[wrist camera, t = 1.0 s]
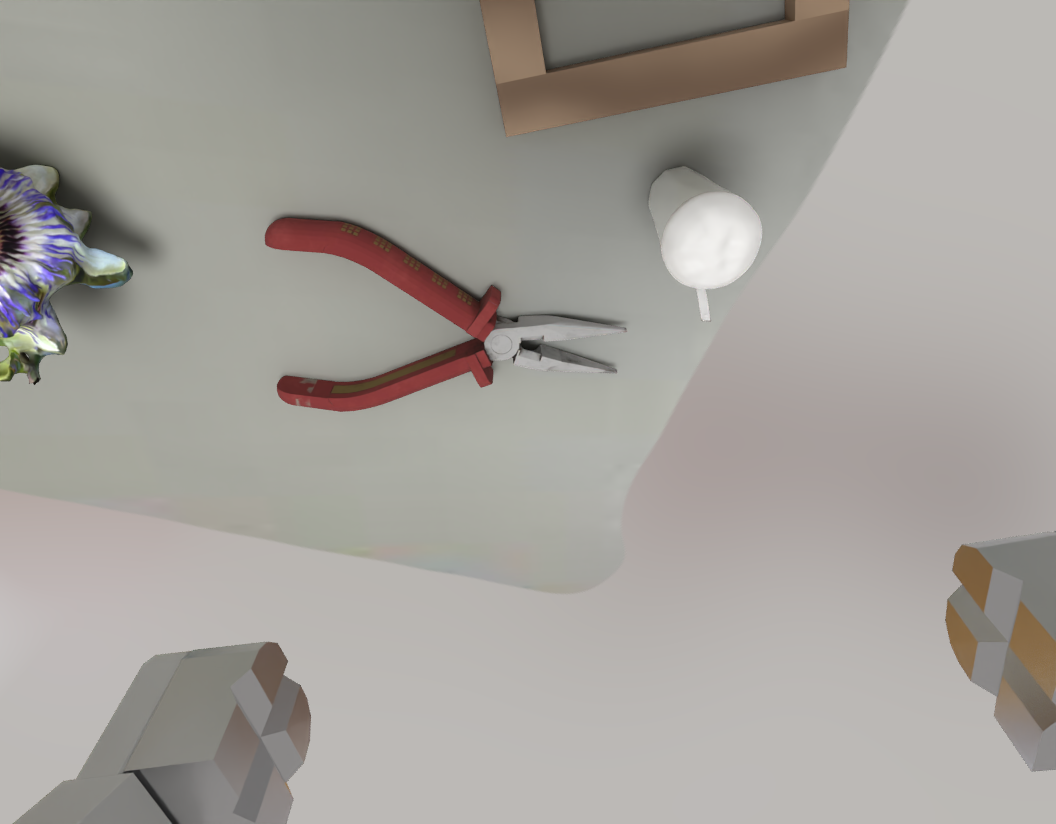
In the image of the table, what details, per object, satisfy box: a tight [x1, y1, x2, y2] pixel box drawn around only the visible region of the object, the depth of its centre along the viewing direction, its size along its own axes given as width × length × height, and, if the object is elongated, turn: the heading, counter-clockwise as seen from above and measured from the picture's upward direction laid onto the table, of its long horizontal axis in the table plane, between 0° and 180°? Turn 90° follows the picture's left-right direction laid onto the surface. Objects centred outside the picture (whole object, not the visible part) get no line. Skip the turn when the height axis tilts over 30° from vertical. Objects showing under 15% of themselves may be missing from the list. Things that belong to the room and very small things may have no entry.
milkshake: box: [648, 166, 762, 322], centre depth 35 cm, size 4×5×10 cm
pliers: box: [265, 218, 627, 412], centre depth 42 cm, size 12×21×3 cm, turn 83°
